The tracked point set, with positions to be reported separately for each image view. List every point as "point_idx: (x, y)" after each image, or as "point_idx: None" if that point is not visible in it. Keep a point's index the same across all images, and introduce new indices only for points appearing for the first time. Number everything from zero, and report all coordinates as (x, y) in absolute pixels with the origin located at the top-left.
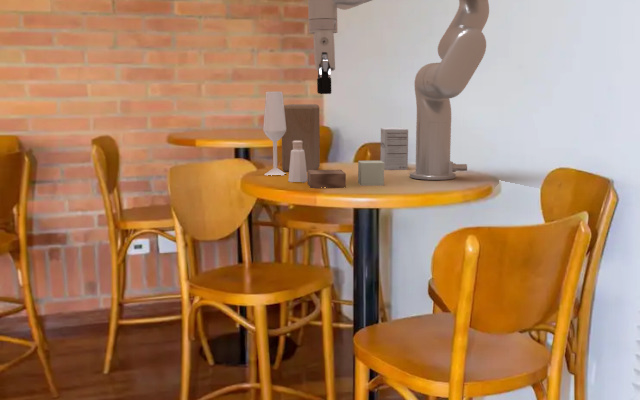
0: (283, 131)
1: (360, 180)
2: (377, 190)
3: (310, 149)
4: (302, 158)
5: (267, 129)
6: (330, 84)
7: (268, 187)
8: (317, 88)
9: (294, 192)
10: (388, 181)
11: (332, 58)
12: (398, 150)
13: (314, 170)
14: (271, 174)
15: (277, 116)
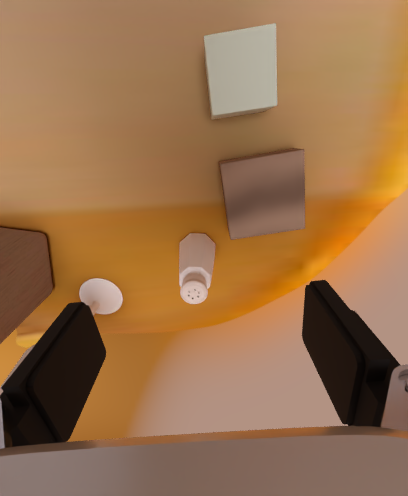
0: None
1: (255, 112)
2: (342, 67)
3: (15, 258)
4: (206, 261)
5: None
6: (355, 321)
7: (274, 288)
8: (93, 378)
9: (340, 242)
10: (185, 30)
11: None
12: None
13: (240, 224)
14: (119, 302)
15: None
